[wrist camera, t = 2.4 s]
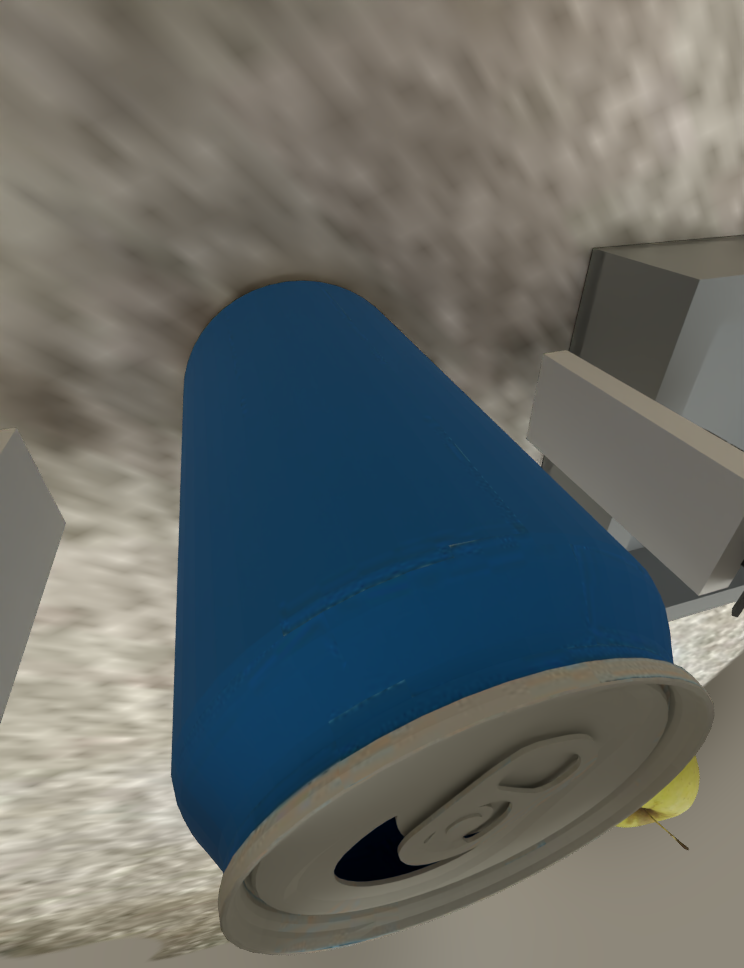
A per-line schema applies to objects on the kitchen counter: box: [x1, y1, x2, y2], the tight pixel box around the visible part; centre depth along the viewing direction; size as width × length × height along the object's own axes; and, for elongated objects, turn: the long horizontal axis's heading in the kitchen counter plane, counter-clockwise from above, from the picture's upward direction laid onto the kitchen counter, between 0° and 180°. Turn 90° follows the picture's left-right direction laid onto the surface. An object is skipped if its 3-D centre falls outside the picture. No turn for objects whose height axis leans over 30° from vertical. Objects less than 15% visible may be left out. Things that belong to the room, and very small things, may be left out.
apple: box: [616, 756, 700, 850], centre depth 29 cm, size 8×8×10 cm
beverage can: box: [171, 281, 714, 955], centre depth 10 cm, size 6×6×12 cm
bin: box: [542, 235, 744, 622], centre depth 19 cm, size 15×15×4 cm
